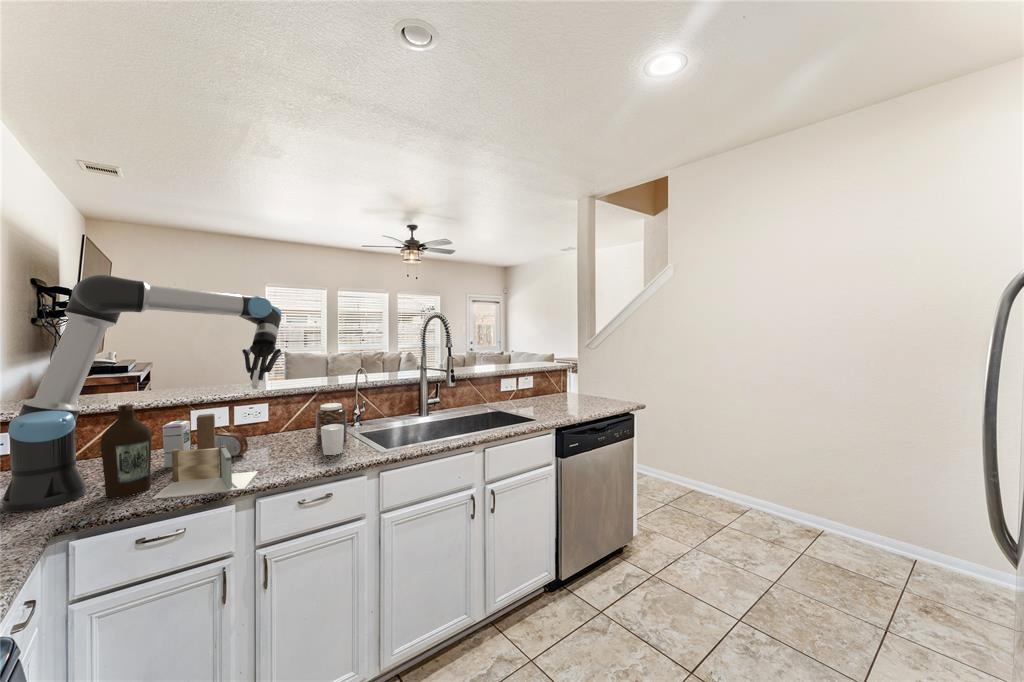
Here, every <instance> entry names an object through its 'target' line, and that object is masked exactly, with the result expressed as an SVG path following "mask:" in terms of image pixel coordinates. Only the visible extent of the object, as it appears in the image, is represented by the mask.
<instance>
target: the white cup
mask: <svg viewBox="0 0 1024 682" xmlns="http://www.w3.org/2000/svg"><path fill="white" fill-rule="evenodd" d="M321 439H322V445H321V447H322V455H323V454H324V455H323V456H325V455H334V456H337V455H336V454H339V455H341V454H342V453H344V442H343V440H344V425H341V424H331V425H326V426H323V427H321ZM340 453H341V454H340Z"/></svg>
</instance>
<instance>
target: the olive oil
mask: <svg viewBox="0 0 1024 682" xmlns="http://www.w3.org/2000/svg"><path fill="white" fill-rule="evenodd" d="M133 407H134V404H132V403H129V404H128V403H126V404H120V405H118V406H117V419H116V421H114V422H113V424H111V425H110V426H109V427H108V428H107V429H106V430H104V431H103V433H102V436H101V439H100V451H101V458H102V469H103V478H104V492H105V497H106V496H107V497H106V498H108V497H111V498H110V499H118V498H117V497H122V498H125V497H124V496H128V497H130V496H129V495H132V496H134V495H133V494H136V495H138V494H137V493H139V494H141V493H140V492H142V493H144V492H146V491H148V490H149V489H151V485H152V484H151V480H152V479H151V472H152V471H151V470H152V469H151V468H152V466H151V465H152V462H151V461H152V437H153V436H152V432H151V430H150V428H149V427H148V425H146V424H145V423H142V422H141V421H140V420H139V419H137V418H136V417H135V409H134V408H133ZM143 491H144V492H143Z"/></svg>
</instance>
